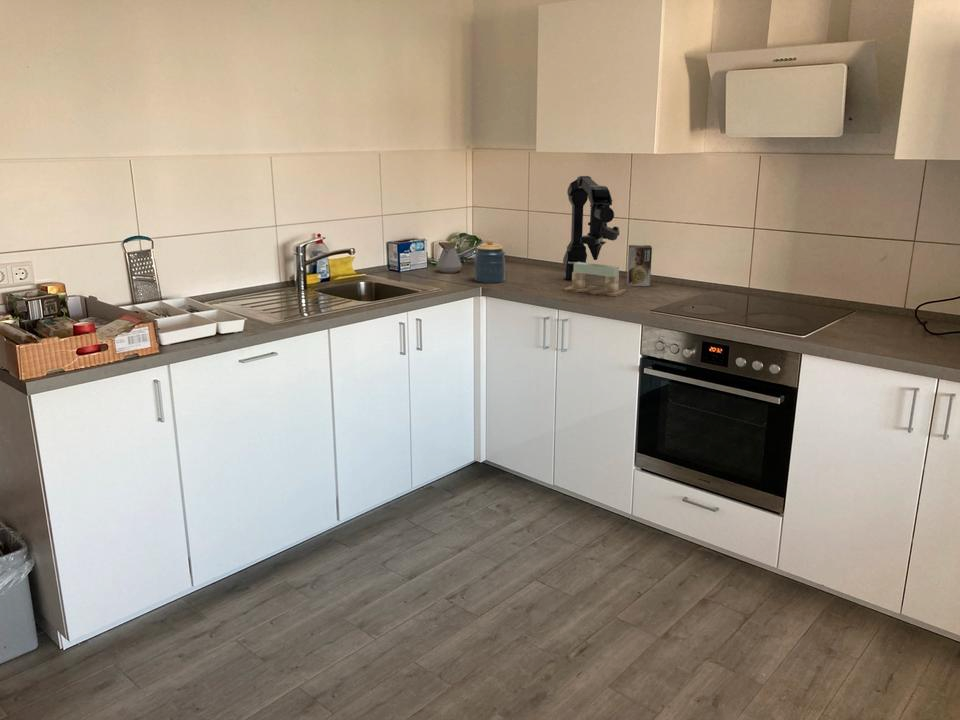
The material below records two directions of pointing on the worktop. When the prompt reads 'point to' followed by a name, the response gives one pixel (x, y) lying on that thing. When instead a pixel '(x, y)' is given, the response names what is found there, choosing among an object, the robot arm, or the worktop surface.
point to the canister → (489, 263)
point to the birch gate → (608, 290)
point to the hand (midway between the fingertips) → (595, 259)
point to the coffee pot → (448, 259)
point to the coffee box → (639, 265)
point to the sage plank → (596, 269)
